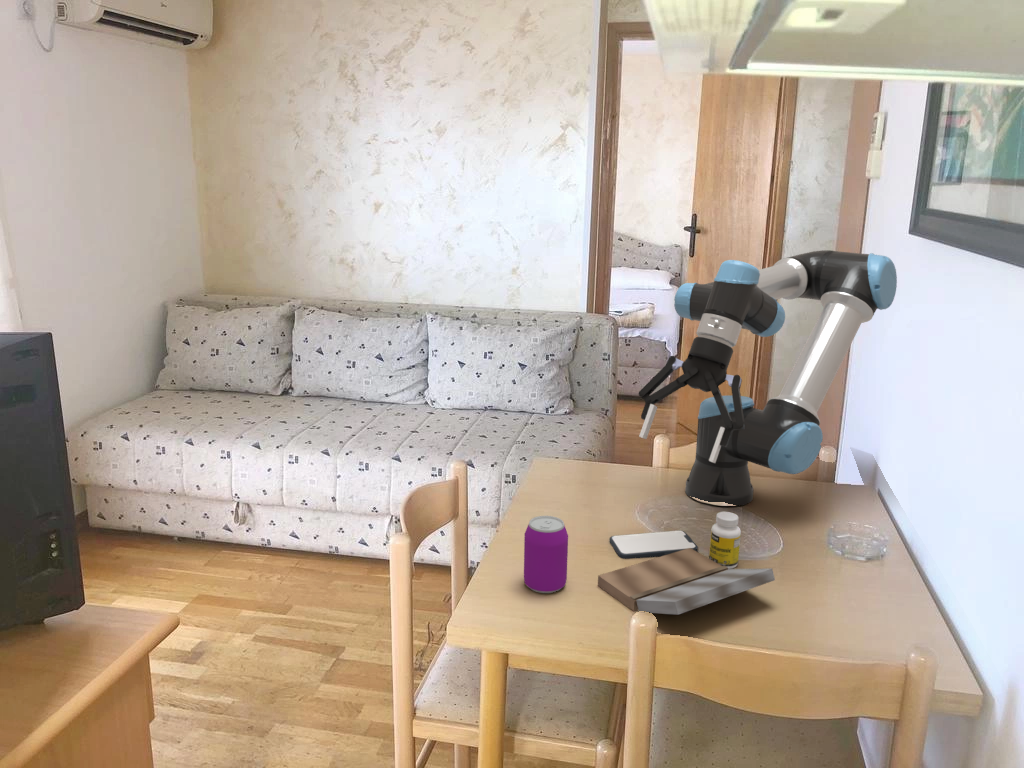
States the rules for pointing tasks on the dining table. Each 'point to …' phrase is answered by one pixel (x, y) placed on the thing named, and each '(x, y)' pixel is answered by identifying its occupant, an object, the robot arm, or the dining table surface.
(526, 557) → the beverage can
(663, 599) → the grey plank
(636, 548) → the smartphone
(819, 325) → the robot arm
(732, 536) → the supplement bottle
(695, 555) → the walnut floor board
